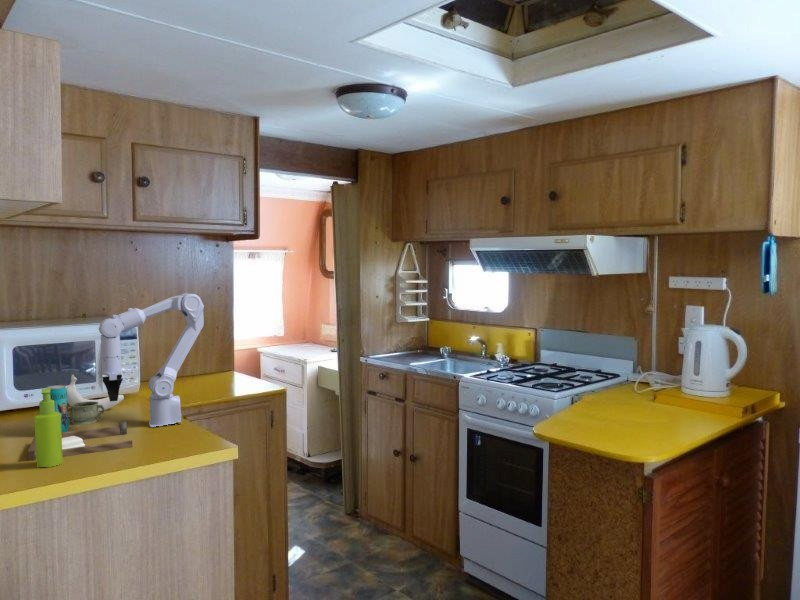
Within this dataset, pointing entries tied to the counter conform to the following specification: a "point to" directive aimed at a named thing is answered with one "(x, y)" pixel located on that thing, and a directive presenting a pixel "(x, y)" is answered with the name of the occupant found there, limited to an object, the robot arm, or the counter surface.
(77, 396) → the banana
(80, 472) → the counter surface
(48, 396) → the soap dispenser
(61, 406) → the beverage can
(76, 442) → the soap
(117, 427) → the hook rack
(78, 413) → the vessel
